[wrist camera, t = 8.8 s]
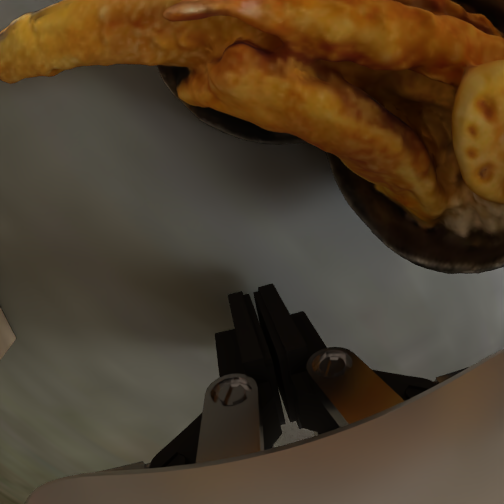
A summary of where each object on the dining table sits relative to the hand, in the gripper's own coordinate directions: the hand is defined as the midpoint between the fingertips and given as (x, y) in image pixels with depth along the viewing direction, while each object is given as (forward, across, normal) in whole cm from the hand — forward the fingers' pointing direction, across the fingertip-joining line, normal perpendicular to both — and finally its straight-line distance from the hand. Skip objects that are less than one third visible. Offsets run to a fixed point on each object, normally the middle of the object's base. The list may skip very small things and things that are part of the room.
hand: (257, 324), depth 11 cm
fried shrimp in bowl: (+1, -2, -8) cm, 9 cm away
